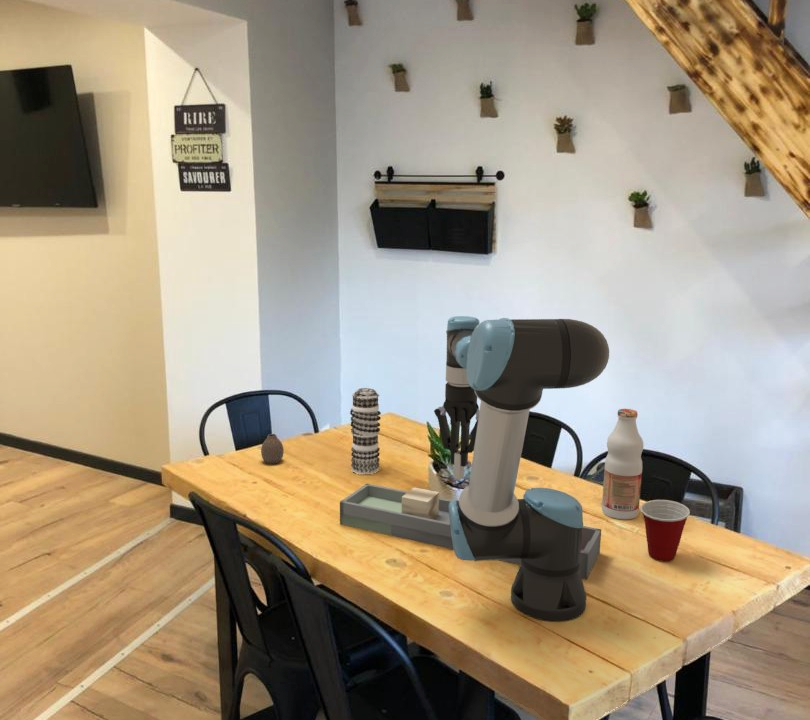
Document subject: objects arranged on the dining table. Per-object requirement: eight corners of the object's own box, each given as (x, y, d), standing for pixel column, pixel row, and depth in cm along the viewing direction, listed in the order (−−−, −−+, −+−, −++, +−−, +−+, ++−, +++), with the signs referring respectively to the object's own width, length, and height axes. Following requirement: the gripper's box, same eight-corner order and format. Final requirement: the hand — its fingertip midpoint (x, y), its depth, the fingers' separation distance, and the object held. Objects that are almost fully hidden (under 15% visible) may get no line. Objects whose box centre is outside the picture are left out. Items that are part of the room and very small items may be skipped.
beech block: (427, 525, 182) (427, 502, 181) (401, 519, 185) (401, 496, 184) (438, 514, 188) (439, 492, 187) (413, 509, 191) (413, 487, 190)
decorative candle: (346, 473, 224) (345, 392, 219) (355, 463, 233) (355, 385, 227) (375, 476, 222) (375, 395, 217) (383, 466, 231) (384, 387, 225)
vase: (260, 459, 236) (259, 432, 234) (282, 457, 238) (281, 430, 236) (262, 466, 229) (262, 439, 227) (285, 464, 231) (284, 437, 229)
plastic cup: (626, 549, 177) (630, 502, 175) (663, 543, 181) (668, 496, 178) (656, 570, 167) (661, 520, 165) (695, 563, 171) (700, 513, 169)
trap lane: (586, 579, 163) (588, 554, 162) (339, 524, 189) (339, 501, 188) (599, 553, 175) (601, 529, 174) (366, 504, 201) (366, 483, 200)
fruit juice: (594, 509, 200) (601, 408, 194) (621, 503, 204) (628, 404, 198) (618, 522, 192) (626, 417, 186) (646, 516, 196) (654, 413, 190)
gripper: (493, 382, 176) (489, 477, 181) (442, 376, 181) (439, 468, 186) (482, 389, 169) (478, 488, 174) (429, 382, 174) (427, 478, 180)
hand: (458, 477), depth 180 cm, fingers closed
